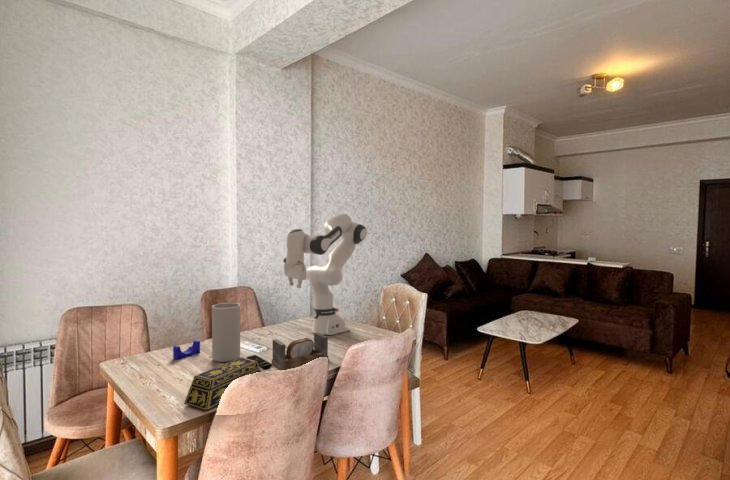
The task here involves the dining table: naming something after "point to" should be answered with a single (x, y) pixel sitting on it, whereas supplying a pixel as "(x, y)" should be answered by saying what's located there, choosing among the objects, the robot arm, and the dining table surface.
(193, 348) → the cable clip
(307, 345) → the tin
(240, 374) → the decorative box
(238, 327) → the cylinder vase
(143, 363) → the dining table surface
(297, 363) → the holder
